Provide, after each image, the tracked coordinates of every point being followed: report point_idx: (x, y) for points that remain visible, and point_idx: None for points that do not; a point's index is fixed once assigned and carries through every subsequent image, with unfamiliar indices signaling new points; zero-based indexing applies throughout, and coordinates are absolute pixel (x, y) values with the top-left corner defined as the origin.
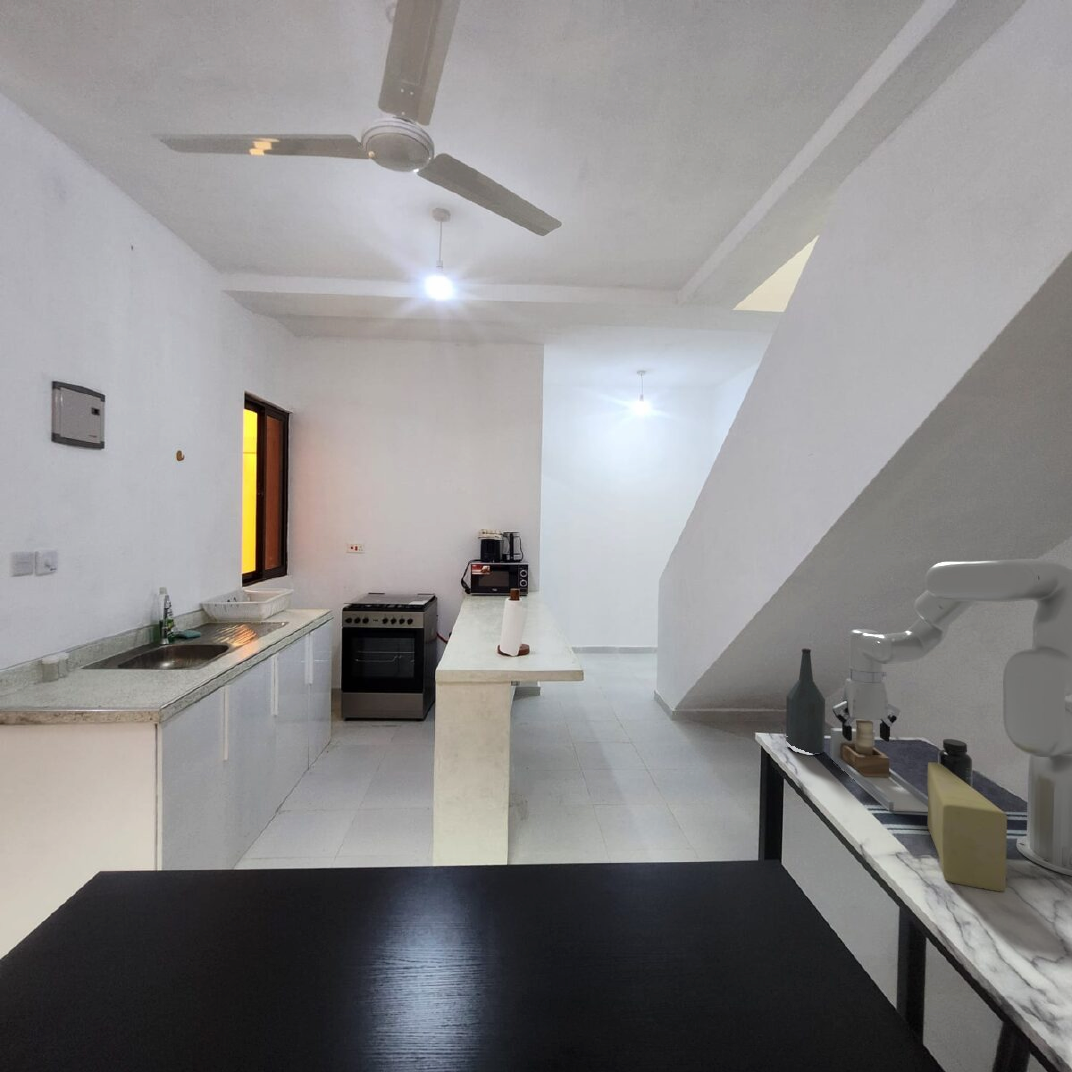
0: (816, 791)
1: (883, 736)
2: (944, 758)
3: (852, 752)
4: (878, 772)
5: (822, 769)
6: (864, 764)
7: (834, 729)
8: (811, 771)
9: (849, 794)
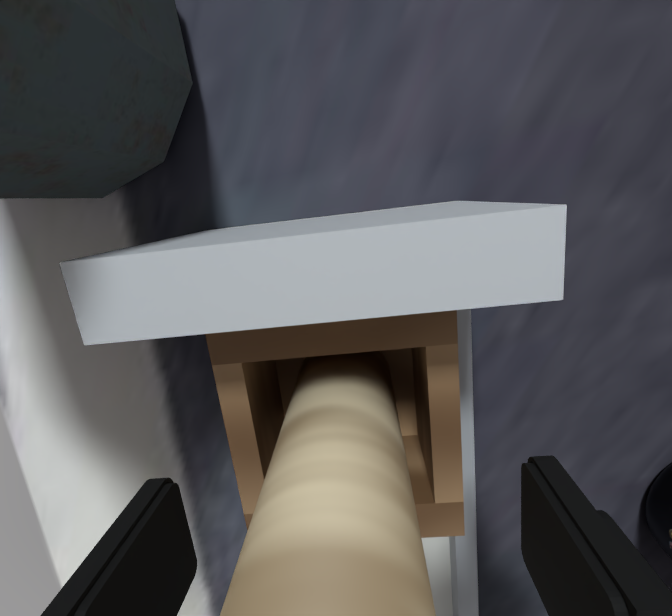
0: None
1: (535, 545)
2: None
3: (239, 481)
4: None
5: (133, 375)
6: None
7: (95, 303)
8: (75, 406)
9: (194, 588)
